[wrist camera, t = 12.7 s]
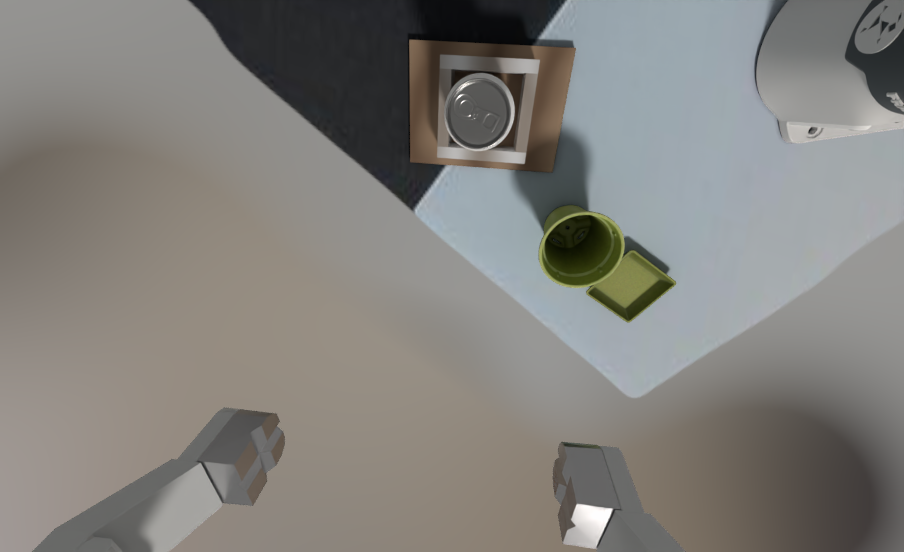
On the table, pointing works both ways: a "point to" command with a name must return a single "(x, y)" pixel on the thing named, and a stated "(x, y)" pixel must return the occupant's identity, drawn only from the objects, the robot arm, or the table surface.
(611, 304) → the saucer
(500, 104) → the can
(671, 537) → the robot arm
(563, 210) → the plant pot
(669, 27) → the table surface
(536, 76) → the socket board
